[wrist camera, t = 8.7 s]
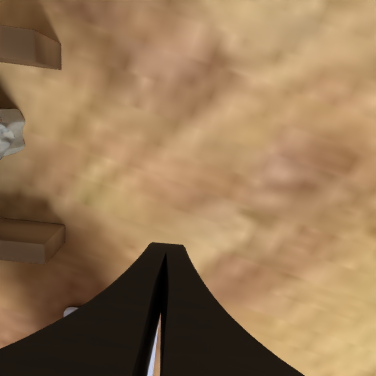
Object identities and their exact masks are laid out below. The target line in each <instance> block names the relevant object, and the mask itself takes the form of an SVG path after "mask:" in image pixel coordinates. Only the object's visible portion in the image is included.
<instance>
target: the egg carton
mask: <svg viewBox="0 0 376 376" xmlns="http://www.w3.org/2000/svg"><path fill="white" fill-rule="evenodd" d="M0 118H1V122H0V160H1V158H2V157H3V156H7V155H10V154H14V153H17V152H19V151H20V150H22V149H23V148H24V147H25V143H24V140H23V133H22V131H23V127H24V125H25V119H24V118H23V117H22V115H21V113H20V111H19V110H18V109H0Z"/></svg>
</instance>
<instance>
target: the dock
mask: <svg viewBox="0 0 376 376" xmlns="http://www.w3.org/2000/svg"><path fill="white" fill-rule="evenodd" d="M0 62H5V63H12V64H20V65H27V66H35V67H42V68H50V69H58V70H61V44H60V43H58V42H56V41H54V40H52V39H50V38H48V37H46V36H45V35H43V34H41V33H39V32H37V31H35V30H31V29H24V28H17V27H10V26H3V25H0ZM64 243H65V225H61V224H52V223H42V222H32V221H23V220H13V219H3V218H0V260H6V261H16V262H27V263H37V264H46V263H47V262H48V261H49V259H50V258H51V257H52V256H53V255H54V254H55V253H56V252H57V251H58V249H59V248H60V247H61V246H62V245H63V244H64Z"/></svg>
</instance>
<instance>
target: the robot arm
mask: <svg viewBox="0 0 376 376" xmlns="http://www.w3.org/2000/svg"><path fill="white" fill-rule="evenodd" d="M160 314H161V346H160V376H304V375H303V374H302V373H300V372H299V371H297V370H296V369H294V368H293V367H291V366H290V365H288V364H287V363H286V362H284V361H283V360H281V359H280V358H279V357H277V356H276V355H275V354H273V353H272V352H271V351H270V350H268V349H267V348H266V347H265V346H263V345H262V344H261V343H260V342H258V341H257V340H256V339H255V338H254V337H252V336H251V335H250V334H249V333H248V332H247V331H246V330H245V329H244V328H243V327H242V326H240V325H239V324H238V323H237V322H236V321H235V320H234V319H233V318H232V317H231V316H230V315H229V314H228V313H227V312H226V311H225V309H224V308H223V307H222V306H221V305H220V304H219V303H218V301H217V300H216V299H215V298H214V296H213V295H212V294H211V292H210V291H209V289H208V288H207V287H206V285H205V284H204V282H203V281H202V279H201V278H200V276H199V274H198V273H197V271H196V269H195V268H194V266H193V264H192V262H191V260H190V258H189V256H188V254H187V251H186V248H185V247H184V246H183V245H178V244H166V243H155V242H152V243H150V244H149V245H148V247H147V248H146V249H145V251H144V252H143V253H142V254H141V255H140V257H139V258H138V259H137V260H136V261H135V262H134V263H133V264H132V265H131V266H130V267H129V268H128V269H127V270H126V271H125V272H124V273H123V274H122V275H121V276H120V277H119V278H118V279H117V280H115V281H114V282H113V283H112V284H111V285H110V286H109V287H107V288H106V289H105V290H104V291H102V292H101V293H100V294H98V295H97V296H96V297H94V298H93V299H92V300H90V301H89V302H87V303H86V304H84V305H83V306H81V307H79V308H76V307H68V308H67V309H66V310H65V311H64V317H63V318H62V319H60V320H58V321H56V322H54V323H53V324H51V325H49V326H47V327H45V328H43V329H41V330H39V331H37V332H35V333H33V334H31V335H29V336H27V337H25V338H23V339H21V340H19V341H17V342H15V343H12V344H10V345H8V346H5V347H3V348H1V349H0V376H153V369H154V360H155V351H156V341H157V332H158V323H159V318H160Z"/></svg>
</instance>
